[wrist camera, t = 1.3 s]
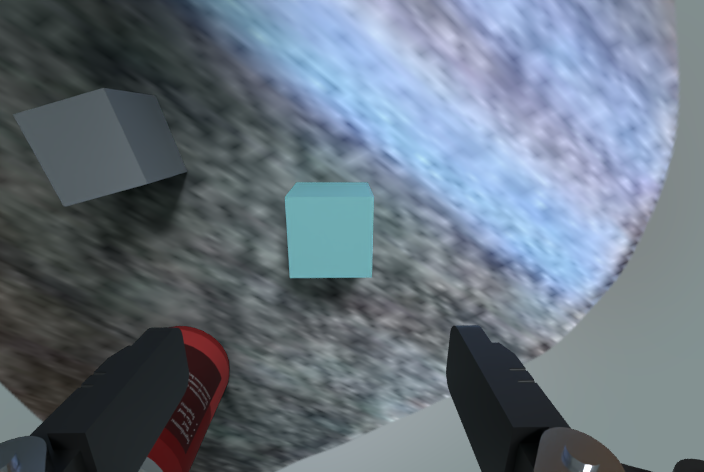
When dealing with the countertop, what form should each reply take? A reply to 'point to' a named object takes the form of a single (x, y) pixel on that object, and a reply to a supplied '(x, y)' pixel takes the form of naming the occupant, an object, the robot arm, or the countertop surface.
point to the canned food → (191, 404)
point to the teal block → (330, 229)
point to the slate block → (101, 143)
